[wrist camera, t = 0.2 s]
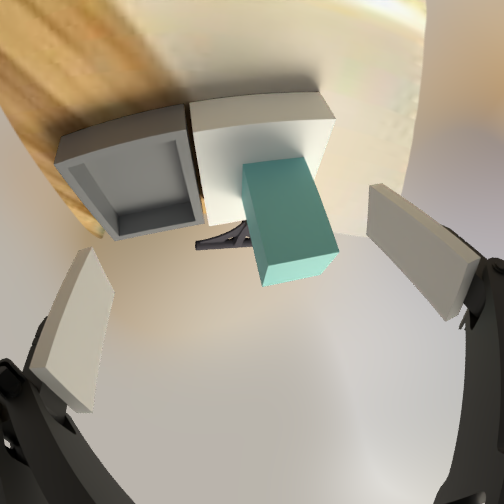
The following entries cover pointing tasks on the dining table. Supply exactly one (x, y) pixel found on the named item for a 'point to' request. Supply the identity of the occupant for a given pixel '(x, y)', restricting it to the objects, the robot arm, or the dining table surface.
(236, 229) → the bracket
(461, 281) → the robot arm
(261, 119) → the white flat box
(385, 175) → the dining table surface
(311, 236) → the block
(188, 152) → the tray
